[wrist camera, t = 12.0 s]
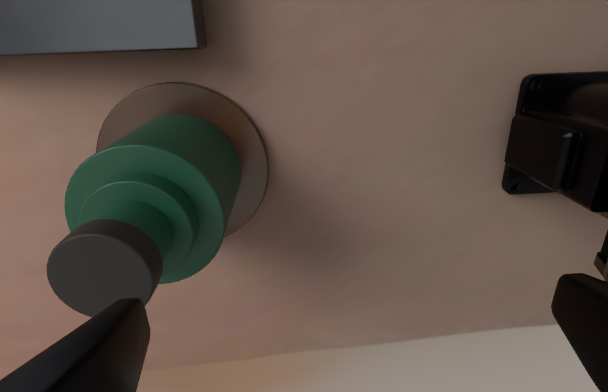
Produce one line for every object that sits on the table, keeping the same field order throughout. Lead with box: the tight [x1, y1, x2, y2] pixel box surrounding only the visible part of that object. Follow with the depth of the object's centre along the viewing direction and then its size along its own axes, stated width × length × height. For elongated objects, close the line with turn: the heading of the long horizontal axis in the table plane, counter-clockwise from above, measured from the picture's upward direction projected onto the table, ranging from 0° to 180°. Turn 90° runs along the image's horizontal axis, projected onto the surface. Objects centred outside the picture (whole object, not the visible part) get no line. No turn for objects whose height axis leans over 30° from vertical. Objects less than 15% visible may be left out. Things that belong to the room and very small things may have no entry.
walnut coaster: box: [96, 82, 268, 237], centre depth 20 cm, size 9×9×1 cm
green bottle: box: [47, 114, 241, 317], centre depth 15 cm, size 6×6×10 cm
